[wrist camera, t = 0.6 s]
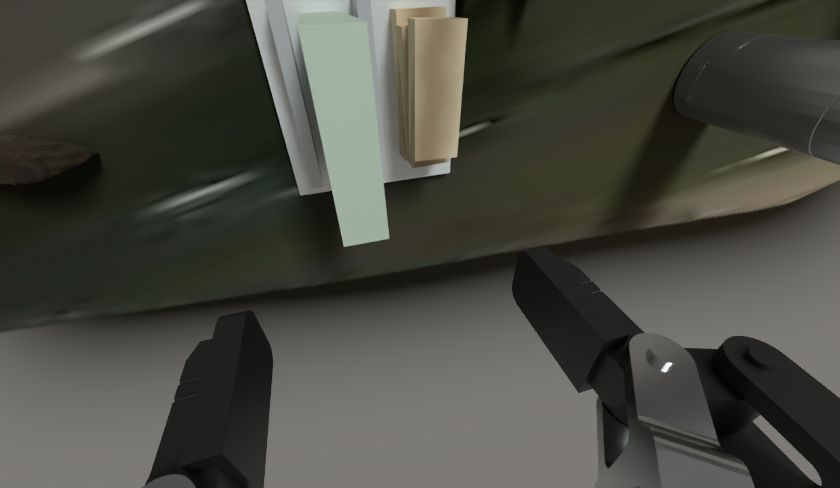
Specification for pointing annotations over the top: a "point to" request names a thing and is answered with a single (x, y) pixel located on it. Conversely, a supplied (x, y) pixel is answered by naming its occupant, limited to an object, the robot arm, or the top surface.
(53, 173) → the hand tool
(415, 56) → the offcut stack
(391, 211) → the top surface
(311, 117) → the grey rack
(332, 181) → the sage board
